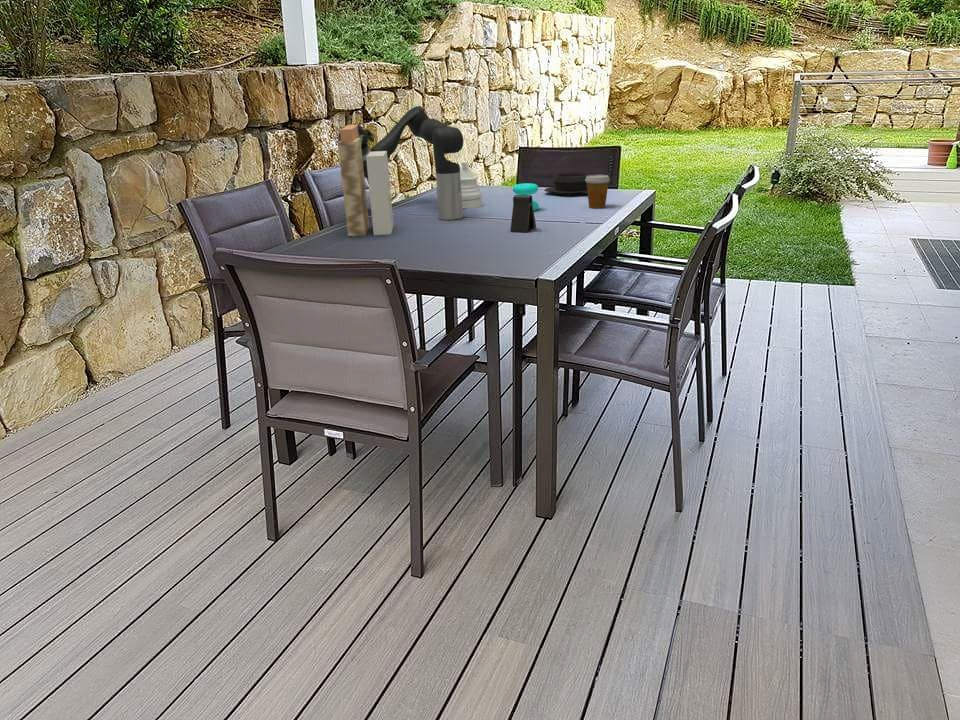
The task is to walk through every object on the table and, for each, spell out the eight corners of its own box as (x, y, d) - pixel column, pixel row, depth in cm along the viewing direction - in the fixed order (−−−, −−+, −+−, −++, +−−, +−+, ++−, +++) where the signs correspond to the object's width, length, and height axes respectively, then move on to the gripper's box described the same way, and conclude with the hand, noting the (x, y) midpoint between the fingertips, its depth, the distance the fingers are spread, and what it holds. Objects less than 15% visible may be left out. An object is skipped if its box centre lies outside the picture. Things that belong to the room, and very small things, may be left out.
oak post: (369, 226, 277) (360, 137, 266) (365, 235, 262) (355, 141, 251) (353, 227, 277) (343, 138, 266) (348, 236, 262) (337, 142, 251)
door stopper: (526, 233, 254) (525, 197, 250) (510, 232, 257) (509, 197, 253) (536, 227, 262) (535, 193, 258) (520, 227, 264) (519, 192, 260)
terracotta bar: (360, 135, 274) (358, 124, 273) (353, 141, 252) (351, 129, 250) (349, 136, 274) (348, 125, 272) (341, 142, 252) (339, 129, 250)
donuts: (540, 182, 295) (535, 186, 286) (540, 208, 298) (536, 212, 289) (515, 182, 297) (510, 186, 288) (516, 208, 301) (511, 212, 292)
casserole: (605, 191, 331) (605, 171, 328) (594, 198, 315) (594, 177, 312) (551, 190, 340) (551, 171, 337) (538, 196, 325) (537, 177, 322)
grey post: (393, 225, 278) (386, 150, 268) (390, 234, 263) (383, 155, 253) (377, 226, 277) (370, 151, 268) (373, 235, 263) (366, 156, 253)
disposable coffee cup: (608, 204, 298) (609, 174, 294) (610, 209, 289) (610, 177, 285) (584, 205, 299) (584, 175, 295) (585, 209, 290) (585, 178, 286)
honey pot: (481, 208, 304) (479, 163, 297) (450, 209, 304) (447, 164, 298) (482, 203, 316) (480, 159, 309) (452, 204, 316) (449, 160, 310)
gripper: (377, 156, 285) (372, 136, 268) (340, 158, 284) (332, 138, 267) (376, 137, 286) (371, 116, 269) (339, 139, 285) (331, 118, 268)
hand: (352, 127), depth 268 cm, fingers closed on terracotta bar, 4 cm apart
